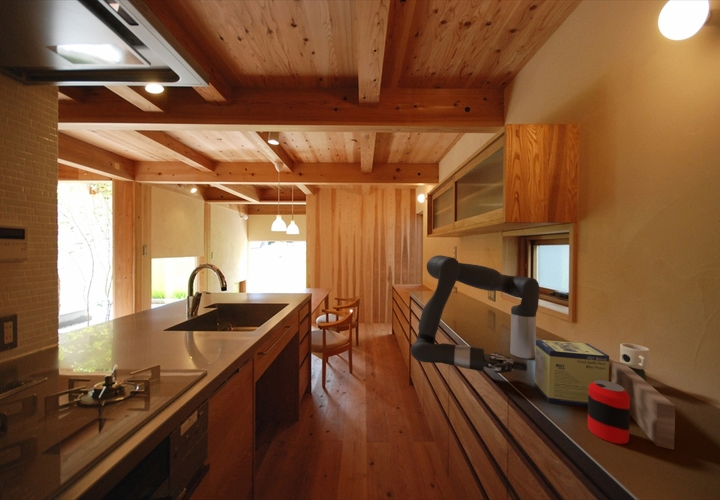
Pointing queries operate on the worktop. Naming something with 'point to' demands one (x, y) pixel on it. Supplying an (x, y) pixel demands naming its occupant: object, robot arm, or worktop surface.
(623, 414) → the soda can
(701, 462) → the worktop surface
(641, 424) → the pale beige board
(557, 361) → the protein box
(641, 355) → the character mug
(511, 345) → the robot arm
